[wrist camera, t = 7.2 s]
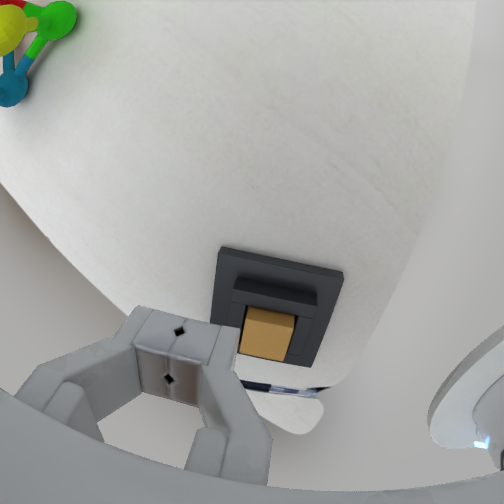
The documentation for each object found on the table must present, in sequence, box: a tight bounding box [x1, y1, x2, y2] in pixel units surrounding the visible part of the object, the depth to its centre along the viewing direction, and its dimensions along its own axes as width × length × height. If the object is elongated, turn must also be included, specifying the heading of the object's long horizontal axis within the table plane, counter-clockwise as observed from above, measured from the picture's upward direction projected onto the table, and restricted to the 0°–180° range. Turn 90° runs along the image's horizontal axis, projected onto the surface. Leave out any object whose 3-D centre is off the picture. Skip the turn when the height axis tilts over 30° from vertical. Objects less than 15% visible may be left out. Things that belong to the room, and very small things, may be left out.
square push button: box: [210, 247, 344, 368], centre depth 26 cm, size 10×10×3 cm
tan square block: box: [239, 306, 294, 361], centre depth 24 cm, size 4×4×2 cm
